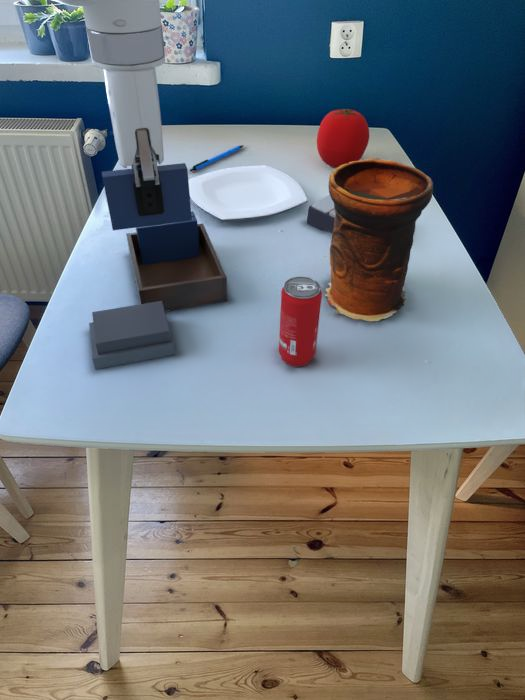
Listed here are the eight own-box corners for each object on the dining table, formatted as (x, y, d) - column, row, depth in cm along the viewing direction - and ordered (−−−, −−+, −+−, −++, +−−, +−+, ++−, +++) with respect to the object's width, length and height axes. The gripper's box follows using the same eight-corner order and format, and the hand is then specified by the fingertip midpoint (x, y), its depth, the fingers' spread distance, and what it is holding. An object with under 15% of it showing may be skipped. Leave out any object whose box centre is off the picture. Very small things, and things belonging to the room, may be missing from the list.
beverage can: (276, 345, 78) (279, 276, 70) (311, 343, 78) (318, 274, 70) (280, 369, 74) (284, 299, 66) (317, 368, 75) (325, 298, 67)
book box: (142, 315, 83) (138, 290, 80) (130, 256, 95) (126, 233, 92) (227, 301, 86) (226, 277, 83) (204, 246, 98) (203, 223, 95)
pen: (188, 172, 122) (188, 167, 121) (242, 146, 133) (241, 142, 132) (191, 173, 121) (191, 168, 120) (244, 147, 133) (244, 143, 132)
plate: (321, 211, 109) (322, 202, 107) (215, 235, 101) (215, 226, 100) (270, 168, 124) (270, 159, 123) (174, 186, 116) (173, 177, 115)
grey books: (95, 369, 74) (89, 347, 71) (91, 333, 79) (86, 311, 77) (174, 354, 76) (172, 333, 74) (166, 320, 82) (163, 299, 79)
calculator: (374, 234, 95) (307, 202, 102) (369, 254, 98) (305, 223, 105) (406, 212, 101) (341, 184, 108) (401, 232, 104) (338, 203, 111)
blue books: (142, 265, 92) (136, 228, 87) (140, 254, 95) (134, 218, 90) (200, 256, 94) (197, 220, 90) (196, 246, 97) (193, 211, 92)
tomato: (333, 179, 120) (339, 121, 112) (304, 160, 128) (308, 104, 119) (376, 168, 125) (386, 112, 116) (347, 151, 132) (353, 96, 124)
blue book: (112, 230, 67) (102, 177, 63) (111, 224, 69) (101, 171, 64) (191, 220, 70) (187, 168, 65) (189, 214, 71) (185, 162, 66)
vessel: (303, 279, 91) (312, 164, 77) (377, 264, 94) (398, 151, 81) (341, 331, 81) (360, 208, 67) (423, 312, 84) (456, 192, 71)
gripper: (86, 30, 60) (114, 186, 73) (93, 69, 49) (125, 245, 61) (153, 27, 62) (170, 180, 74) (175, 64, 51) (190, 236, 63)
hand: (150, 208), depth 68 cm, fingers closed on blue book, 1 cm apart
